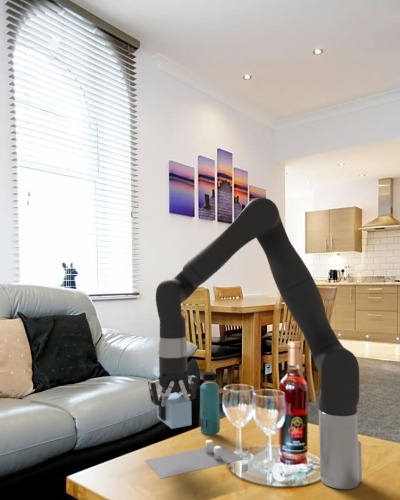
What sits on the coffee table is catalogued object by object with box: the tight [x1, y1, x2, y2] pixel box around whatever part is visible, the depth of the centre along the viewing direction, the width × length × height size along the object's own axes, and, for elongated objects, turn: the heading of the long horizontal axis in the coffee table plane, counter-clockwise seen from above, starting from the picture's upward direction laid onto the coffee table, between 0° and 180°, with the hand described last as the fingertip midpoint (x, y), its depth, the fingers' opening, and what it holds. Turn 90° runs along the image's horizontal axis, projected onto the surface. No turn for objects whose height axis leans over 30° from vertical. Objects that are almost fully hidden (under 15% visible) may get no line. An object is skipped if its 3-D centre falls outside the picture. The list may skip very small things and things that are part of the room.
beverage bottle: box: [199, 371, 221, 435], centre depth 140 cm, size 6×7×20 cm
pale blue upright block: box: [156, 392, 193, 430], centre depth 116 cm, size 6×10×6 cm, turn 27°
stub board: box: [144, 439, 244, 480], centre depth 118 cm, size 24×12×4 cm, turn 117°
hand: (174, 417), depth 116 cm, fingers closed on pale blue upright block, 5 cm apart
